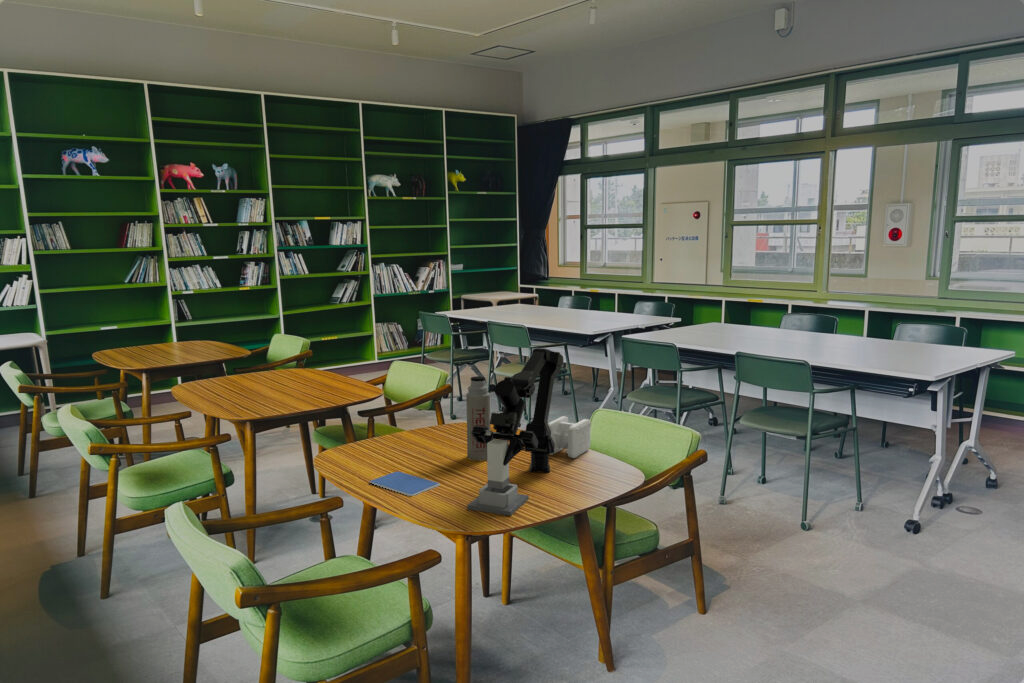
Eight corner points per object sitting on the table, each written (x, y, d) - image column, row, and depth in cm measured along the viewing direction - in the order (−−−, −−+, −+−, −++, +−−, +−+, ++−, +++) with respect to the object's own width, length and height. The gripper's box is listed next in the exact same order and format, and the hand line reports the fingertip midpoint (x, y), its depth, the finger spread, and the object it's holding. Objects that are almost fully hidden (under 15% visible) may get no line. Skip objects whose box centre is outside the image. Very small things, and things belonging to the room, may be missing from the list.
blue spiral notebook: (441, 486, 205) (441, 482, 205) (411, 499, 195) (411, 494, 195) (397, 474, 216) (397, 470, 216) (367, 485, 207) (367, 481, 206)
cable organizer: (565, 445, 244) (565, 414, 243) (592, 449, 239) (592, 417, 237) (545, 456, 232) (545, 423, 230) (573, 461, 226) (573, 427, 225)
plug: (494, 481, 191) (493, 438, 190) (509, 483, 190) (508, 440, 188) (487, 486, 187) (487, 443, 185) (502, 489, 186) (501, 445, 184)
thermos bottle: (488, 461, 227) (487, 379, 223) (465, 460, 228) (463, 379, 224) (492, 454, 235) (491, 375, 231) (469, 453, 236) (468, 374, 232)
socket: (487, 493, 198) (487, 477, 197) (528, 499, 192) (528, 483, 192) (467, 509, 186) (467, 492, 185) (510, 516, 181) (510, 499, 180)
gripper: (473, 397, 192) (456, 446, 184) (534, 403, 185) (519, 453, 177) (485, 418, 201) (469, 465, 192) (544, 424, 193) (530, 473, 185)
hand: (496, 464), depth 186 cm, fingers closed on plug, 4 cm apart
